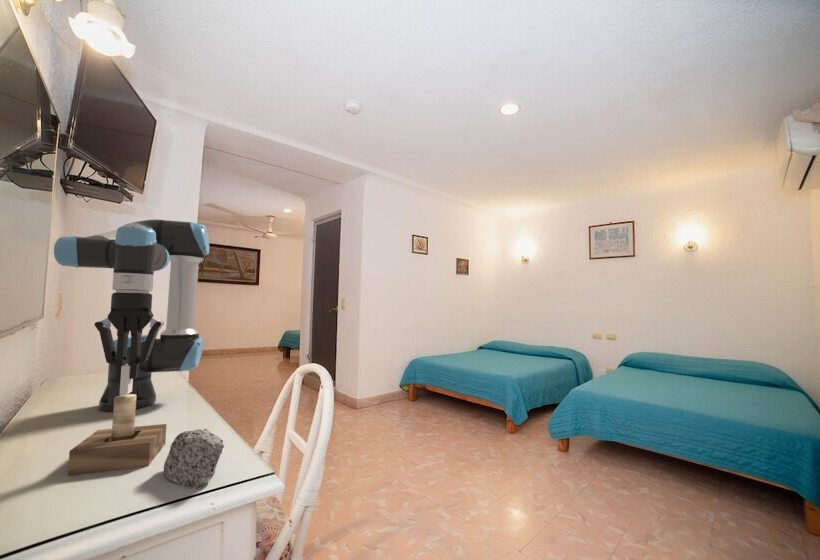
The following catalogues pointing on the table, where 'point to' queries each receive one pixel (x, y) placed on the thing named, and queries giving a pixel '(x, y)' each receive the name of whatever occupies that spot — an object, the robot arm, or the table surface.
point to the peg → (123, 417)
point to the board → (117, 450)
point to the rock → (193, 458)
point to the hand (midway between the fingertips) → (125, 393)
